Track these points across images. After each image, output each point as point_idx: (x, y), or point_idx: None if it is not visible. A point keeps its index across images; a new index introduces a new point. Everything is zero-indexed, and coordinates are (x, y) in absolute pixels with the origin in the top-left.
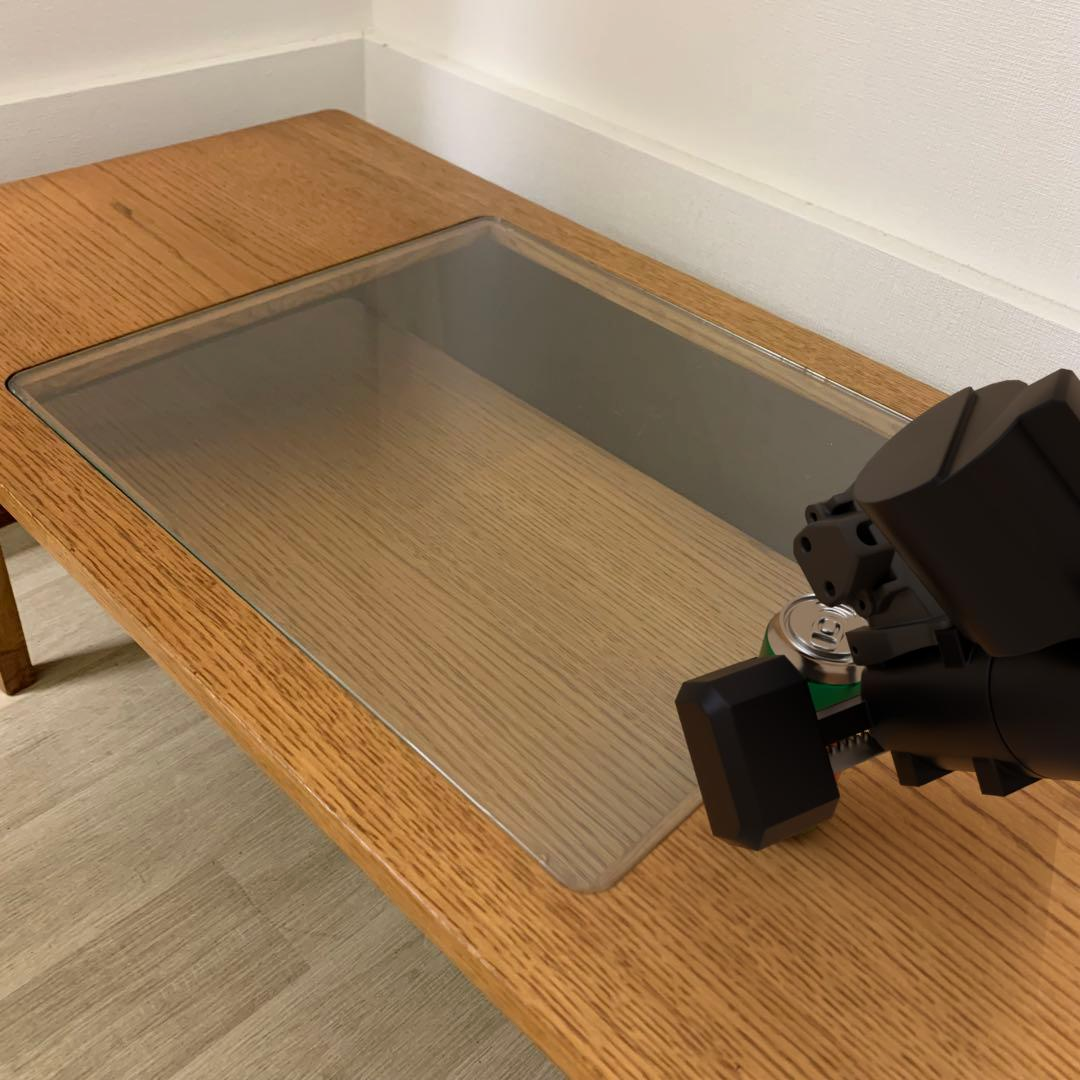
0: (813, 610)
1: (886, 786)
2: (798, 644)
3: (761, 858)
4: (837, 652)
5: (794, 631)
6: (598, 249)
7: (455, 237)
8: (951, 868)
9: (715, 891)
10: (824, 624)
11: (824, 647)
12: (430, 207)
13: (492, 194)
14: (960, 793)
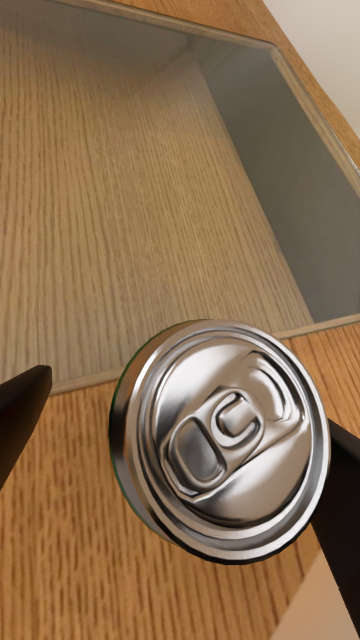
0: (235, 365)
1: None
2: (146, 425)
3: None
4: (202, 508)
5: (159, 395)
6: (311, 82)
7: (253, 43)
8: None
9: (65, 451)
10: (231, 409)
11: (185, 475)
12: (253, 27)
13: (284, 38)
14: None
